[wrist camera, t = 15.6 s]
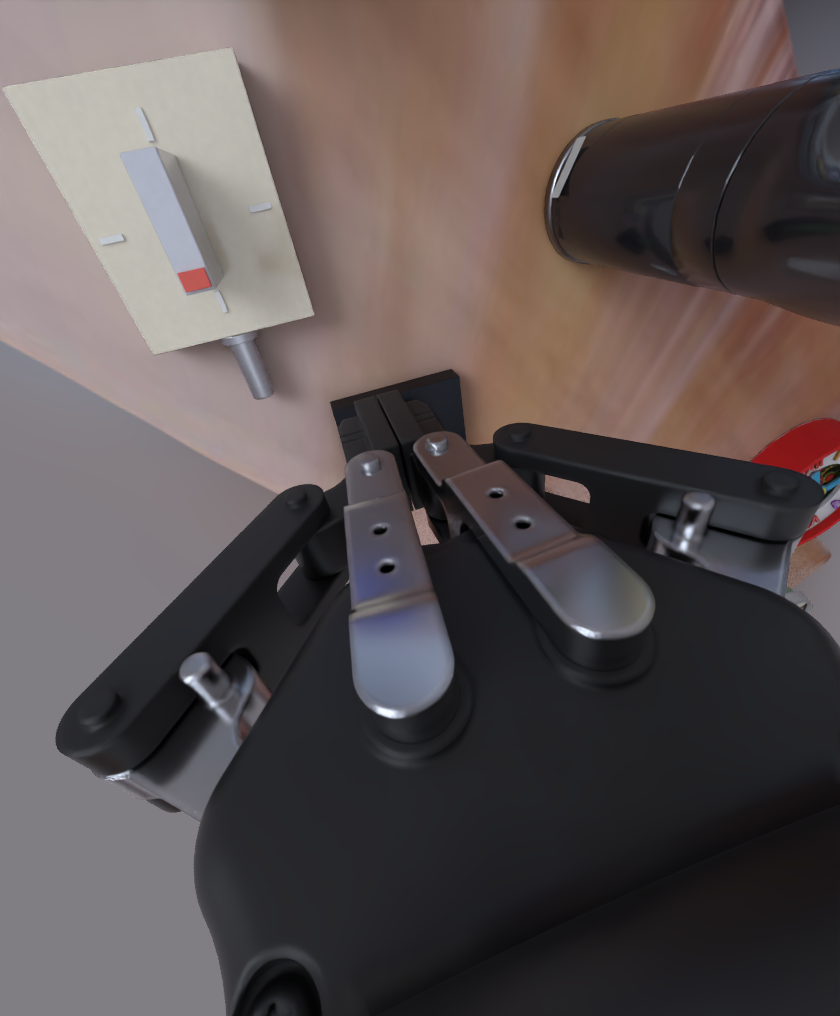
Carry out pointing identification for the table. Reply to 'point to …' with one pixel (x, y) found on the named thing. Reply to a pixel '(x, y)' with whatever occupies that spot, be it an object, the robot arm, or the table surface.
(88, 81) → the block
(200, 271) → the pale grey rectangular block
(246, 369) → the spout
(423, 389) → the button housing
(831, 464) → the toy clock
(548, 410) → the table surface
